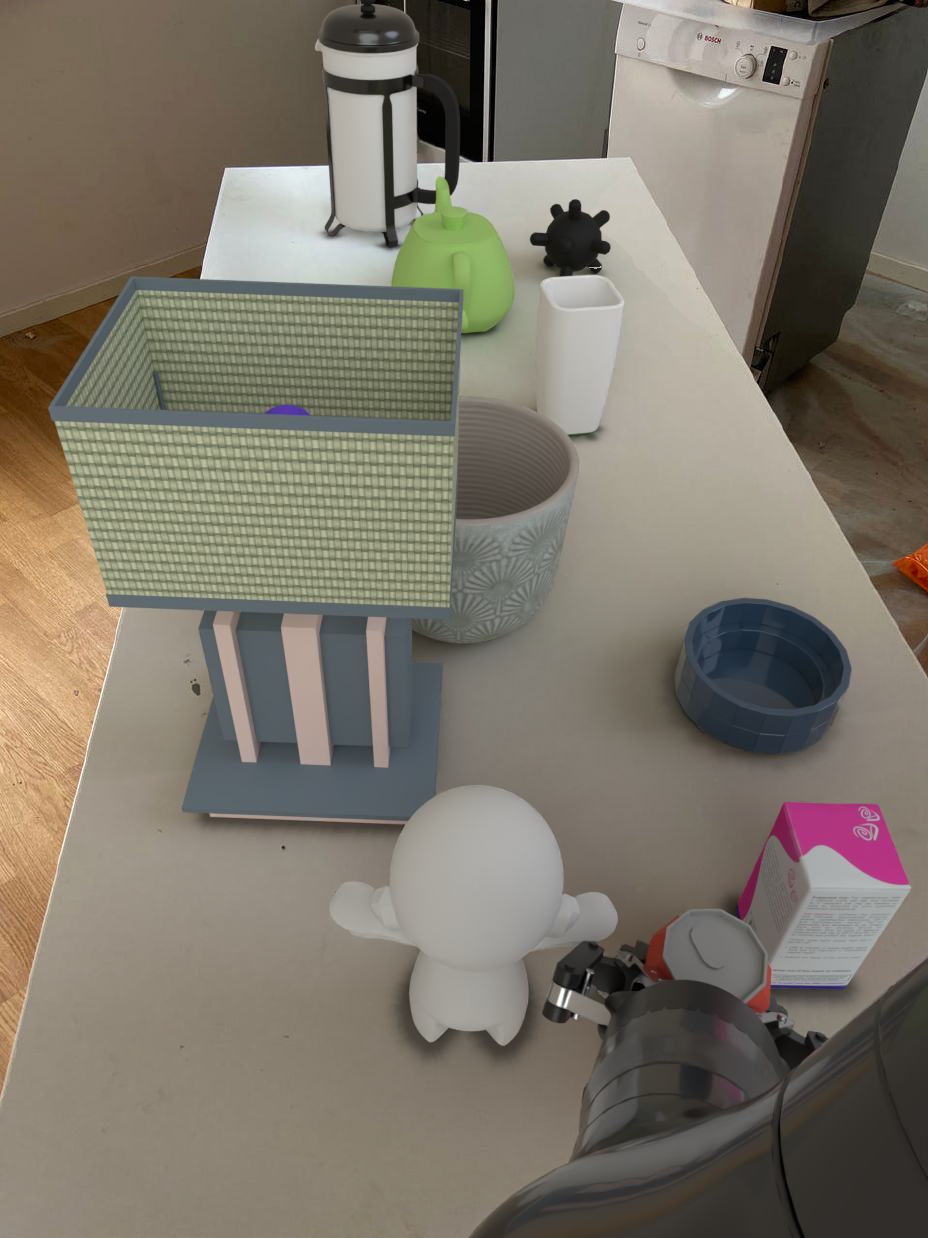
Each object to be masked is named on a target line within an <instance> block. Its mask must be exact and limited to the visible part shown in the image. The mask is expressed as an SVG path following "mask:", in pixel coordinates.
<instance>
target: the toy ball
mask: <svg viewBox="0 0 928 1238" xmlns="http://www.w3.org/2000/svg"><path fill="white" fill-rule="evenodd" d="M549 211H550V215H551V216H552V218H553V220H552V221H551V222H550V223H549V225H548V226H547V228H546V232H539V231H538V232H537V231H535V232H533V233H532V234H530V236H529V242H530V244H531V245H532V246H533V247H535V246H536V247H544V251H545V253H546V255H545V256H544V257H543V264H544V265H545V266H546V267H548V268H549V267H553V266H555V267H556V268H557V269H560V270H559V271H560V272H559V276H558V277H564V276H573V273H574V272H580V271H583V270H584V269H586V268H587V269H588V270H589V271H590V272H591V273H593V274H594V275H598V274H599V273H600V272H601V271H602V268H603V264H602V263H601V261H599V259H598V256H599V255H604V256H605V255H607V254H609V253H610V251H611V243H609V242H608V241H607V240H602V238H603V235H602V230H601V228H602V227H603V226H604V225H606V224H607V223H608V222H609V221H610V220H611V219H610V218H611V214H610V213H609V211H608V210H605V209H602V210H600V211H599V212H598V213H596V214H595V215H594V216H591V215H590V214H589V213H587V212H585V211H582V202H581V200H579V199H577V198H575V199H571V200H570V201H569V202H568V210H565V211H564V209H563V207H562V205H561V204H560V203H554V204H552V205H551V207H550V208H549ZM600 266H602V267H601V268H597V269H594V268H589V267H600Z"/></svg>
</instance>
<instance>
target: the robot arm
mask: <svg viewBox="0 0 928 1238" xmlns="http://www.w3.org/2000/svg"><path fill="white" fill-rule="evenodd" d="M648 946H649V943H646V942H643V941H642V940H639V939H637V940H636V942H635V945H634V946H632V945H630V944H627V943H623V944H621V945H620V948H619V950H617V951H616V953H615V956H614V957H611V956H608V955H607V956H606V955H604V954H605V949H604V948H603V946H602V945H600V944H598V942H597V943H596V942H593V941H582V942H581V943H580V944H579V945H578V946H576V947H575V948H573V949H572V950H570V952H568V953H567V954H566V955H565V956H564V957H562V958H561V959H560V960H559V961H558V962H557V963H556V966H555V969H554V973H553V975H552V979H551V981H550V984H549V988H548V990H547V994H546V996H545V1001H544V1003H543V1007H542V1011H541V1015H542V1016H543V1017H544V1018H545V1019H546V1020H548V1021H550V1022H552V1023H554V1024H559V1025H560V1024H561V1025H562V1024H563V1025H564V1024H566V1023H567V1022H569V1020H570V1019H572V1020H574V1021H581V1019H582V1018H584V1019H586V1020H588V1021H591V1022H592V1023H594V1024H596V1028H597V1030H596V1031H597V1034H598V1037H599V1038H600V1040H602V1042H601V1044H600V1047H599V1050H598V1052H597V1055H596V1059H595V1061H594V1065H593V1067H592V1070H591V1073H590V1076H589V1078H588V1082H587V1083H586V1084H585V1086H584V1088H583V1090H582V1096H581V1104H580V1105H581V1106H580V1111H579V1120H578V1121H579V1122H578V1123H579V1124H578V1133H577V1137H576V1140H575V1143H574V1147H573V1148H572V1152H571V1155H570V1156H569V1159H568V1162H567V1163H564V1164H562V1165H560V1166H558V1167H556V1168H554V1169H552V1170H550V1171H548V1172H547V1173H545V1174H542V1175H541V1176H540V1177H538V1178H536V1179H534V1180H533V1181H531V1182H529V1183H528V1184H526V1185H524V1186H523V1187H521V1188H519V1190H518V1191H516V1192H515V1193H513V1194H512V1195H510V1196H509V1197H508V1198H507V1199H506V1200H504V1201H503V1202H502V1203H500V1204H499V1206H497V1207H496V1208H495V1209H494V1210H492V1212H491V1213H489V1214H488V1215H487V1216H486V1217H485V1218H484V1219H483V1220H482V1221H481V1222H480V1223H479V1225H478V1226H477V1227H476V1228H475V1229H474V1230H473V1231H472V1232H471V1234H470V1235H469V1236H468V1238H928V954H927V955H926V956H925V957H923V958H922V959H921V960H920V961H918V963H916V964H915V965H914V966H912V967H911V968H910V969H909V970H908V971H906V973H904V974H903V975H902V976H901V977H900V978H898V979H897V980H896V981H895V982H894V983H893V984H892V985H890V986H889V987H888V988H887V989H885V991H883V992H882V993H881V994H880V995H878V996H877V997H876V998H875V999H874V1000H873V1001H871V1002H870V1003H869V1004H868V1005H866V1007H864V1008H863V1009H861V1011H860V1012H858V1013H857V1014H856V1015H855V1016H854V1017H852V1018H851V1019H850V1020H849V1021H848V1022H847V1023H845V1024H844V1025H843V1026H842V1027H840V1029H838V1030H837V1031H836V1032H835V1033H834V1034H832V1035H831V1036H830V1037H827V1036H826V1035H825V1034H824V1033H822V1032H819V1031H813V1030H808V1031H807V1032H806V1036H803V1035H801V1034H800V1033H798V1032H797V1031H795V1030H794V1025H795V1021H794V1020H793V1019H791V1018H790V1017H789V1013H788V1010H787V1009H786V1008H785V1007H784V1006H783V1005H780V1004H778V1001H777V995H776V994H775V993H773V992H770V1006H769V1008H768V1010H767V1011H766V1013H765V1012H764V1011H762V1010H760V1009H758V1008H756V1007H749V1006H747V1005H746V1004H745V1003H744V1002H743V1001H741V1000H740V999H739V998H737V997H736V996H734V995H733V994H731V993H729V992H727V991H726V990H724V989H721V988H719V987H717V986H714V985H711V984H708V983H705V982H700V981H695V980H669V979H668V978H667V977H666V976H665V975H664V974H663V973H662V972H661V971H660V970H659V968H657V967H653V966H649V965H645V964H643V963H644V960H645V957H646V952H647V949H648ZM598 991H599V992H603V994H602V995H601V994H600V993H599V992H598Z"/></svg>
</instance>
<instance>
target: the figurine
mask: <svg viewBox="0 0 928 1238" xmlns="http://www.w3.org/2000/svg"><path fill="white" fill-rule="evenodd" d="M563 864H564V863H563V859H562V855H561V851H560V847H559V845H558V842H557V839H556V837H555V835H554V833H553V831H552V829H551V827H550V825H549V824H548V823H547V822H546V820H545V819H544V817H543V816H542V815H541V813H540V812H538V811H537V809H536V808H535V807H534V806H533V805H532V804H530V803H529V802H528V801H526V800H525V799H523V798H522V797H521V796H519V795H516V794H515V793H513V792H511V791H509V790H507V789H503V788H501V787H496V786H493V785H486V784H467V785H461V786H456V787H453V788H449V789H448V790H444V791H443V792H440V793H438V794H436V795H435V797H433V798H432V799H430V800H429V801H427V802H426V803H425V804H424V805H422V806H421V807H420V808H419V809H418V810H417V811H416V812H415V813H414V814H413V816H412V817H411V818H410V819H409V820H408V822H407V823H406V824H404V826H403V828H402V829H401V832H400V834H399V836H398V837H397V840H396V843H395V844H394V848H393V851H392V855H391V860H390V866H389V886H388V885H385V886H382V887H379V888H376V889H374V888H373V887H372V886H371V885H369V884H367V883H364V882H360V881H357V880H356V881H355V880H351V881H350V880H349V881H346V882H342V883H341V884H340V886H338V887H337V889H336V890H335V891H334V893H333V894H332V896H331V897H330V900H329V903H328V910H329V913H330V916H331V919H332V920H333V921H334V922H335V924H336V925H337V926H339V927H341V928H342V929H345V930H346V931H347V932H349V933H350V934H351V935H352V936H353V937H358V938H364V939H367V940H369V939H370V940H371V939H382V940H385V941H391V942H395V943H400V944H403V945H406V946H412V947H413V946H414V947H416V948H418V949H419V952H418V954H417V957H416V959H415V963H414V965H413V970H412V972H411V975H410V980H409V989H408V998H409V1007H410V1013H411V1018H412V1021H413V1024H414V1026H415V1028H416V1030H417V1031H418V1033H420V1035H421V1036H422V1038H424V1040H426V1041H427V1042H428V1043H434V1042H436V1041H437V1040H438V1039H440V1037H441V1036H442V1035H444V1034H445V1032H446V1031H448V1029H452V1030H455V1031H461V1032H480V1031H486V1032H487V1033H488V1034H489V1035H490V1036H491V1038H492V1039H493V1040H494V1041H495V1042H496V1043H497V1044H498V1045H499V1046H503V1047H505V1046H506V1045H508V1044H509V1043H510V1042H511V1041H513V1039H515V1037H516V1036H517V1035H518V1033H519V1032H520V1030H521V1028H522V1025H523V1023H524V1020H525V1017H526V1014H527V1013H526V1012H527V1008H528V1005H529V980H528V975H527V969H526V966H525V962H524V958H525V956H527V955H529V953H531V952H536V951H543V950H547V949H556V948H557V949H558V948H566V947H568V948H573V949H574V948H575V947H576V946H578V945H579V944H580V943H581V942H582V941H593V942H596V943H597V944H598V942H600V941H603V940H605V939H607V938H608V937H610V936H611V935H612V933H614V932H615V930H616V927H617V925H618V922H619V917H618V912H617V910H616V907H615V906H614V904H613V902H612V901H611V900H610V898H609V897H608V896H607V895H606V894H605V893H601V892H598V891H589V892H584V893H581V894H578V895H576V896H575V897H574V896H572V895H569V894H567V893H563V890H564V878H565V877H564V865H563Z"/></svg>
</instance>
